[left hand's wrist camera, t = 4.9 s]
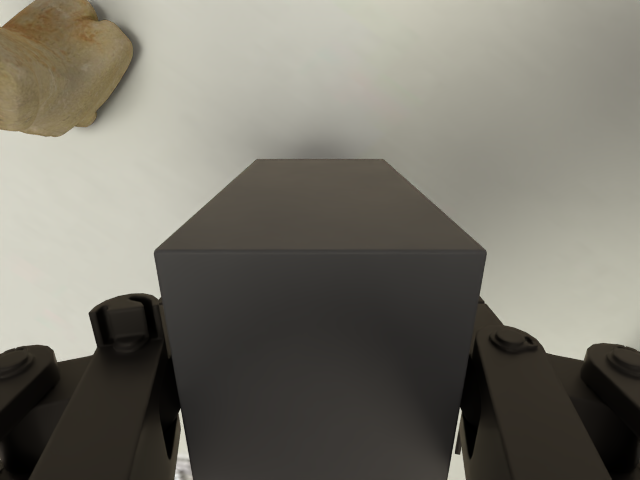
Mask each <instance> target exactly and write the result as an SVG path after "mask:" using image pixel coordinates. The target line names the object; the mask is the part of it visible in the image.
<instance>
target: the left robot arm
mask: <svg viewBox="0 0 640 480" xmlns="http://www.w3.org/2000/svg"><path fill="white" fill-rule="evenodd" d="M89 317H90V321H91V324H92V328H93V332H94V336H95V340H96V344H97V349H96V351H95V353H94V355H91V356H87V357H82V358H77V359H72V360H67V361H62V362H57V360H56V357H55V354H54V351H53V350H52V349H51V348H50V347H48V346H43V345H31V346H22V347H17V348H16V349H15V348H13V349H10V350H7V351H5V352H4V353H2V354H0V480H174V477H175V469H176V462H177V454H178V447H179V439H180V432H181V427H180V420H179V414H178V413H179V410H180V408H181V407H180V401H179V395H178V389H177V384H176V378H175V372H174V366H173V361H172V355H171V349H170V343H169V338H168V332H167V326H166V320H165V315H164V309H163V303H162V297H161V298H160V299H159V300H158V299H157V298H156V297H154V296H153V295H149V294H144V293H138V294H127V295H122V296H117V297H115V298H112V299H109V300H106V301H104V302H102V303H101V304H99V305H97V306H95V307H94V308H93V309H92V310H91V311H90V312H89ZM460 408H461V410H462V414H461V420H460V425H459V431H458V437H457V442H456V449H455V454H459V455H460V452H461V447H462V453H463V461H464V468H465V476H466V480H640V352H639V351H637V350H636V349H633V348H630V347H627V346H626V347H624V346H623V345H618V344H607V343H600V344H593V345H592V346H590V347H589V348H588V349H587V352H586V355H585V358H584V361H582V360H577V359H572V358H567V357H562V356H556V355H552V354H548V353H546V352H545V350H544V348H543V346H542V345H541V344H540V343H539V342H538V340H537V339H535V338H534V337H532V336H531V335H529V334H528V333H526V332H524V331H521V330H519V329H516V328H514V327H509V326H505V325H503V324H502V322H501V321H500V320H499V319H498V318H497V316H496V315H495V314H494V313H493V312H492V310H491V309H490V308H489V307H488V305H487V304H485V303H484V301H483V299H482V298H481V297H480V296H479V300H478V306H477V312H476V318H475V323H474V329H473V335H472V341H471V346H470V352H469V358H468V363H467V369H466V375H465V381H464V386H463V392H462V398H461V404H460Z"/></svg>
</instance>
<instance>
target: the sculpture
mask: <svg viewBox="0 0 640 480" xmlns="http://www.w3.org/2000/svg"><path fill="white" fill-rule="evenodd" d="M132 56H133V47H132V43H131V41H130V40H129V39H128V38H127V36H126V35H125V34H124V33H123V32H122V31H121V30H120V28H119V27H118V26H117V25H115V24H114V23H113V22H111V21H108V20H102V21H99V22H98V18H97V15H96V12H95V10H94V8H93V7H92V6H91V4H90V3H89V2H88V1H87V0H35V1H34V2H32V3H31V4H30V5H28V6H27V7H26V8H24V9H23V10H22V11H20V12H19V13H18V14H17V15H16V16H14V17H13V18H12V19H11V20H10V21H8V22H7V23H6V24H5V25H4V26H3V27H0V129H1V130H8V131H20V132H23V133H27V134H35V135H41V136H46V137H47V136H52V137H58V136H61V135H63V134H65V133H66V132H68V131H69V130H70V129H72V128H73V127H74V126H76V127H87V126H89V125H91V124H92V123H93V122H94V120H95V119H96V117H97V112H96V111H97V110H98V108H99V107H100V106H101V105H102V104H103V103H104V102H105V101H106V100H107V99H108V98H109V96H110V95H111V93H112V92H113V91H114V89H115V88H116V86H117V85H118V83H119V82H120V80H121V78H122V76H123V75H124V73H125V72H126V70H127V68H128V66H129V64H130V61H131V59H132Z"/></svg>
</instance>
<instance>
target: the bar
mask: <svg viewBox="0 0 640 480" xmlns="http://www.w3.org/2000/svg"><path fill="white" fill-rule="evenodd" d="M486 255H487V253H486V250H485V249H484V248H483V247H482V246H481V245H479V244H478V243H477V242H476V241H475V240H474V239H473V238H472V237H470V236H469V235H468V234H467V233H466V232H465V231H464V230H463V229H461V228H460V227H459V226H458V225H457V224H456V223H455V222H454V221H452V220H451V219H450V218H449V217H448V216H447V215H446V214H444V213H443V212H442V211H441V210H440V209H439V208H438V207H437V206H435V205H434V204H433V203H432V202H431V201H430V200H429V199H428V198H426V197H425V196H424V195H423V194H422V193H421V192H420V191H419V190H417V189H416V188H415V187H414V186H413V185H412V184H411V183H410V182H408V181H407V180H406V179H405V178H404V177H403V176H402V175H401V174H399V173H398V172H397V171H396V170H395V169H394V168H393V167H392V166H390V165H389V164H388V163H387V162H386V161H385V160H383V159H257V160H255V161H254V162H253V163H252V164H251V165H250V166H249V167H248V168H246V169H245V170H244V171H243V172H242V173H241V174H240V175H239V176H237V177H236V178H235V179H234V180H233V181H232V182H231V183H230V184H228V185H227V186H226V187H225V188H224V189H223V190H222V191H221V192H219V193H218V194H217V195H216V196H215V197H214V198H213V199H212V200H210V201H209V202H208V203H207V204H206V205H205V206H204V207H203V208H202V209H200V210H199V211H198V212H197V213H196V214H195V215H194V216H193V217H191V218H190V219H189V220H188V221H187V222H186V223H185V224H184V225H182V226H181V227H180V228H179V229H178V230H177V231H176V232H175V233H173V234H172V235H171V236H170V237H169V238H168V239H167V240H166V241H164V242H163V243H162V244H161V245H160V246H159V247H158V248H157V249H155V251H154V257H155V263H156V269H157V274H158V280H159V286H160V292H161V297H162V303H163V309H164V315H165V320H166V326H167V332H168V338H169V343H170V349H171V355H172V361H173V366H174V372H175V378H176V384H177V389H178V395H179V401H180V407H181V412H182V418H183V424H184V430H185V435H186V441H187V447H188V453H189V458H190V464H191V470H192V476H193V480H447V478H448V472H449V466H450V461H451V455H452V449H453V444H454V438H455V432H456V426H457V421H458V415H459V409H460V404H461V398H462V392H463V386H464V381H465V375H466V369H467V363H468V358H469V352H470V346H471V341H472V335H473V329H474V323H475V318H476V312H477V306H478V300H479V295H480V289H481V283H482V278H483V272H484V266H485V260H486Z"/></svg>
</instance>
